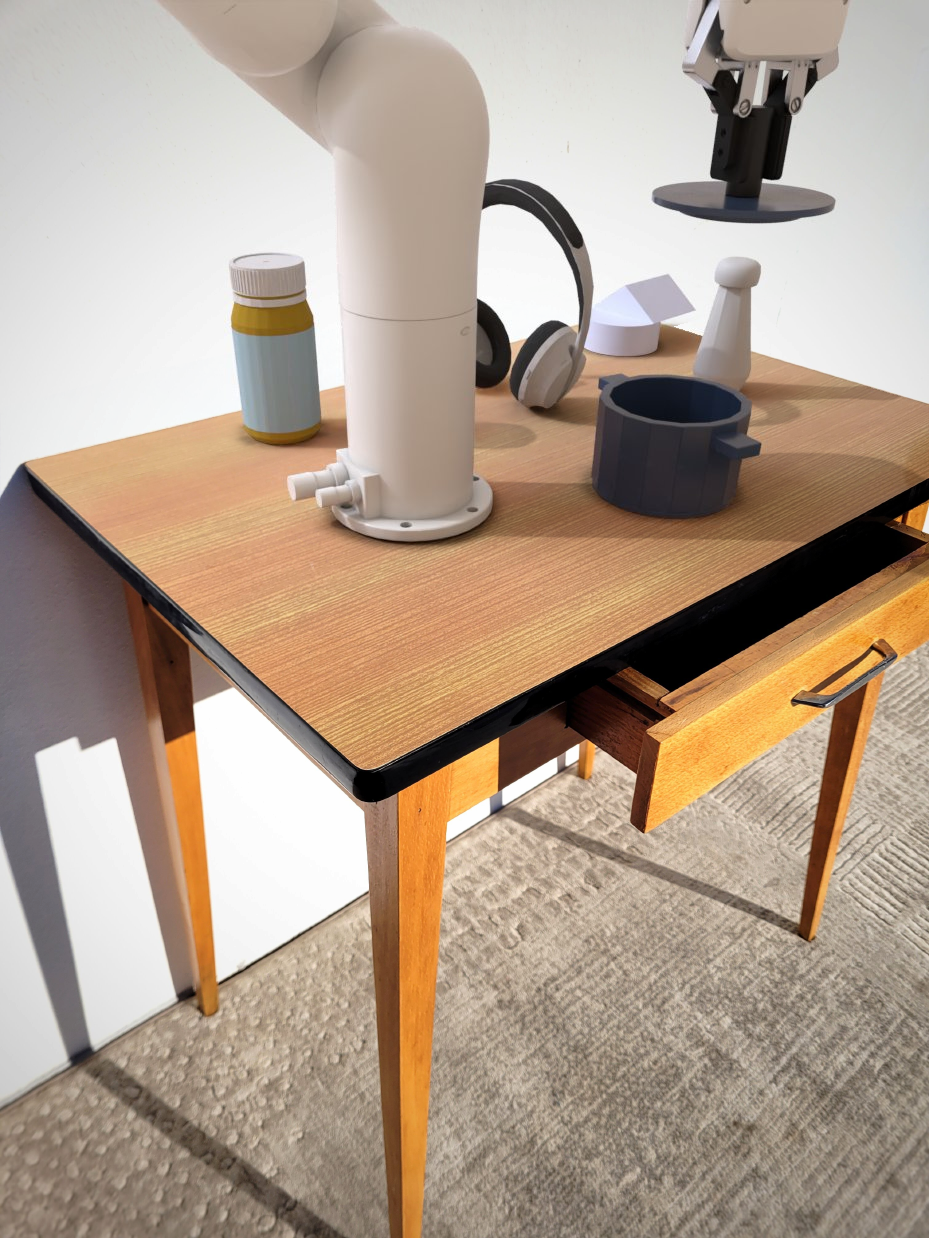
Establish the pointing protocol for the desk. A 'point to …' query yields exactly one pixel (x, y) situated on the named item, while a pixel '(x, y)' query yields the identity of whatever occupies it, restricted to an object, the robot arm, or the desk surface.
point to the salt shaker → (729, 325)
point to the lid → (746, 191)
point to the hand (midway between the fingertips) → (745, 176)
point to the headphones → (553, 346)
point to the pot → (670, 444)
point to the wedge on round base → (635, 317)
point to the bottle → (275, 348)
